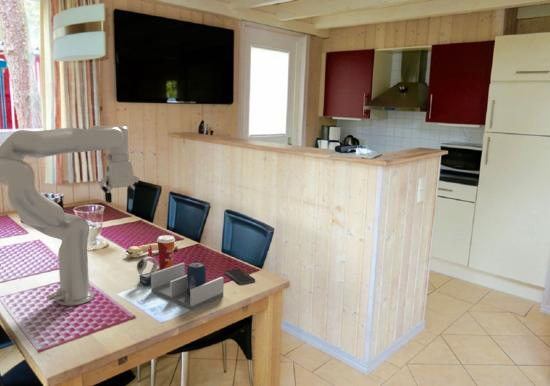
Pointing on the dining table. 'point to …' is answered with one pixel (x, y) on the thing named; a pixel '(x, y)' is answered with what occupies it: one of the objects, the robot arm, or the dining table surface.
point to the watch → (146, 278)
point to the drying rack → (184, 287)
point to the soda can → (195, 275)
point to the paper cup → (165, 251)
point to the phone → (239, 276)
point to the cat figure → (144, 249)
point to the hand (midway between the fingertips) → (119, 200)
